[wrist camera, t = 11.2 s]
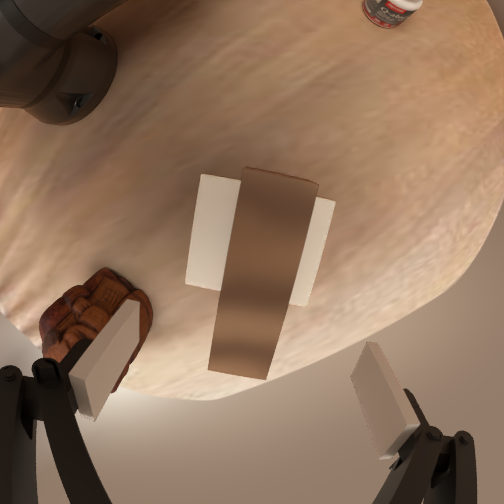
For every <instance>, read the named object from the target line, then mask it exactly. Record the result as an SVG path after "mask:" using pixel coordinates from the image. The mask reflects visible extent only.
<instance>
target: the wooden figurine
mask: <svg viewBox="0 0 504 504" xmlns="http://www.w3.org/2000/svg"><path fill="white" fill-rule="evenodd" d="M127 299H129V300H133V301H137V302H140V307H139V343H138V344H137V346H136V348H135V350H134V351H133V353H132V355H131V357H130V358H129V360H128V362H127V364H126V365H125V367H124V369H123V371H122V373H121V374H120V376H119V378H118V380H117V382H116V383H115V385H114V387H113V389H112V391H111V393H114V392H115V391H116V390H117V388H118V386H119V384H120V383H121V381H122V379H123V378H124V376H125V375H126V374H127V372H128V369H129V364H131V363H132V362H133V361H134V359H135V358H136V356H137V354H138V352H139V351H140V349H141V347H142V345H143V343H144V342H145V340H146V337H147V335H148V333H149V330H150V328H151V325H152V317H153V313H152V309H151V304H150V302H149V300H148V298H147V296H146V295H145V294H144V293H143V292H142V291H141V290H135V289H134V288H133V286H132V285H131V284H130V283H129V282H127V280H126V279H125V278H123V277H117V278H116V277H115V275H114V274H112V273H111V272H110V271H109V270H108V269H107V268H103V269H101V270H99V271H98V272H96V273H95V274H94V275H93V276H92V277H91V278H90V279H88V280H87V281H86V282H85V283H84V284H83V286H82V285H77V286H74V287H72V288H70V289H69V290H68V291H66V292H65V293H64V294H63V296H62V297H60V298H59V299H57V300H56V301H55V302H54V303H53V304H52V305H51V306H50V307H48V308H47V310H46V311H45V312H44V313H43V314H42V316H41V318H40V321H39V331H40V335H41V339H42V342H43V343H42V353H43V358H44V357H45V358H52V359H55V360H56V361H57V362H58V363H60V362H61V360H62V359H63V358H64V357H65V355H67V353H68V352H69V350H70V349H71V348H72V347H73V346H74V344H75V343H76V342H77V341H79V340H81V339H83V338H88V339H91V340H93V341H94V339H95V338H96V337H97V336H98V334H99V333H100V332H101V331H102V329H103V328H104V327H105V326H106V324H107V323H108V322H109V321H110V319H111V318H112V317H113V316H114V314H115V313H116V312H117V311H118V309H119V308H120V307H121V306H122V305H123V303H124V302H125V301H126V300H127Z"/></svg>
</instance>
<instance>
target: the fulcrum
mask: <svg viewBox="0 0 504 504" xmlns="http://www.w3.org/2000/svg"><path fill="white" fill-rule="evenodd" d="M240 184H241V180H237V179H231V178H226V177H220V176H215V175H209V174H201V178H200V184H199V190H198V196H197V202H196V208H195V214H194V221H193V228H192V235H191V242H190V249H189V256H188V264H187V272H186V280H185V284H188V285H193V286H198V287H202V288H207V289H212V290H217V291H221V286H222V280H223V275H224V269H225V264H226V258H227V252H228V247H229V242H230V236H231V231H232V225H233V220H234V215H235V210H236V204H237V199H238V194H239V189H240ZM335 203H336V202H335V201H334V200H329V199H325V198H321V197H317V196H316V200H315V204H314V209H313V213H312V217H311V221H310V225H309V229H308V233H307V237H306V241H305V245H304V249H303V253H302V257H301V260H300V264H299V268H298V272H297V275H296V279H295V283H294V286H293V290H292V294H291V297H290V301H289V304H292V305H298V306H304V307H307V304H308V301H309V298H310V295H311V291H312V288H313V285H314V281H315V278H316V274H317V271H318V267H319V264H320V260H321V257H322V253H323V249H324V246H325V242H326V238H327V234H328V231H329V227H330V223H331V219H332V215H333V211H334V207H335Z"/></svg>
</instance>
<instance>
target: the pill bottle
mask: <svg viewBox="0 0 504 504" xmlns="http://www.w3.org/2000/svg"><path fill="white" fill-rule="evenodd" d="M422 2H423V0H364V2H363V9H364V12H365V14H366V15H367V17H368V18H369V19H370V20H371V21H372V22H374V23H375V24H377V25H379V26H381V27H385V28H394V27H396V26H398V25H399V24H401V23H402V22H403V21H404V20H405V19H406V18H408V17H409V16H410V15H411V14H413V13H414V12H415V11H416V10H418V9H419V8H420V7H421V5H422Z"/></svg>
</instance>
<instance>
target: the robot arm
mask: <svg viewBox="0 0 504 504" xmlns="http://www.w3.org/2000/svg"><path fill="white" fill-rule="evenodd" d="M126 1H128V0H0V107H11V108H22V109H24V110H25V111H26V112H28V113H29V114H31V115H32V116H34V117H35V118H36V119H38V120H39V121H41V122H43V123H46V124H52V125H67V124H71V123H74V122H76V121H78V120H80V119H82V118H83V117H85V116H86V115H87V114H89V113H90V112H91V111H92V110H93V109H94V108H95V107H96V106H97V105H98V104H99V102H100V101H101V100H102V98H103V97H104V95H105V94H106V92H107V90H108V89H109V87H110V85H111V82H112V80H113V77H114V74H115V70H116V65H117V51H116V47H115V44H114V41H113V40H112V38H111V37H110V36H109V35H108V34H107V33H106V32H104V31H103V30H102V29H100V28H98V27H97V26H94V25H90V24H92V23H93V22H94V21H96V20H97V19H99V18H100V17H102V16H103V15H105V14H106V13H108V12H110V11H111V10H113V9H114V8H116V7H118V6H119V5H121V4H123V3H124V2H126ZM139 307H140V302H137V301H133V300H129V299H127V300H126V301H125V302H124V303H123V305H122V306H121V307H120V308H119V309H118V311H117V312H116V313H115V314H114V316H113V317H112V318H111V319H110V321H109V322H108V323H107V324H106V326H105V327H104V328H103V329H102V331H101V332H100V333H99V334H98V336H97V337H96V338H95V339H94V341H93V340H91V339H88V338H83V339H81V340H79V341H77V342H76V343H75V344H74V346H73V347H72V348H71V349H70V350H69V352H68V353H67V355H65V357H64V358H63V359H62V360H61V362H60V363H58V362H57V361H56V360H55V359H52V358H45V357H44V358H40V359H38V360H36V361H35V362H34V363H33V365H32V373H33V376H34V377H27V376H23V375H22V372H21V370H20V369H19V368H17V367H16V366H12V365H8V366H5V367H2V368H1V369H0V504H38V496H37V481H36V427H37V420H40V421H44V425H45V429H46V433H47V437H48V440H49V443H50V448H51V450H52V454H53V457H54V461H55V464H56V467H57V470H58V473H59V476H60V478H61V481H62V484H63V486H64V489H65V491H66V494H67V497H68V499H69V501H70V504H112V502H111V500H110V499H109V497H108V495H107V493H106V491H105V489H104V487H103V485H102V483H101V480H100V478H99V476H98V474H97V472H96V470H95V467H94V465H93V463H92V460H91V458H90V456H89V453H88V451H87V449H86V446H85V443H84V441H83V438H82V435H81V433H80V430H79V427H78V424H77V421H76V418H75V415H74V414H75V413H76V411H77V409H78V410H79V413H80V416H82V417H84V418H87V419H89V420H92V421H94V422H95V421H96V419H97V417H98V415H99V413H100V411H101V409H102V408H103V406H104V404H105V402H106V400H107V398H108V396H109V394H110V393H111V391H112V389H113V387H114V385H115V383H116V382H117V380H118V378H119V376H120V374H121V373H122V371H123V369H124V367H125V365H126V364H127V362H128V360H129V358H130V357H131V355H132V353H133V351H134V350H135V348H136V346H137V344H138V343H139ZM351 379H352V382H353V385H354V388H355V390H356V393H357V396H358V399H359V402H360V405H361V407H362V410H363V413H364V416H365V419H366V422H367V425H368V428H369V431H370V433H371V437H372V440H373V443H374V446H375V449H376V452H377V455H378V458H379V460H380V459H389V458H392V457H393V456H394V455H395V454H396V453H397V452H398V453H399V456H400V457H399V458H398V459H397V460H396V461H395V462H394V463H393V464H392V465H391V466H390V468H389V469H391V468H392V467H393V468H392V470H391V472H390V474H389V475H388V478H387V479H386V481H385V483H384V485H383V486H382V488H381V490H380V491H379V493H378V495H377V497H376V498H375V500H374V501H373V503H372V504H421V503H422V500H423V498H424V501H423V504H477V473H476V459H475V447H474V440H473V437H472V436H471V435H470V434H469V433H468V432H466V431H458V432H457V433H456V434H455V435H454V437H450V436H443V434H442V432H441V431H440V430H439V429H438V428H436V427H433V426H429V424H428V422H427V420H426V418H425V416H424V414H423V412H422V410H421V409H420V408H419V405H418V403H417V401H416V399H415V397H414V395H413V394H412V393H411V392H410V391H409V390H408V389H403V388H402V386H401V385H400V383H399V381H398V379H397V377H396V375H395V373H394V371H393V370H392V368H391V366H390V364H389V362H388V361H387V359H386V357H385V355H384V353H383V351H382V349H381V348H380V346H379V344H378V343H374V342H367V343H366V345H365V347H364V349H363V351H362V354H361V356H360V358H359V360H358V362H357V364H356V366H355V368H354V370H353V372H352V374H351Z"/></svg>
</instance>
